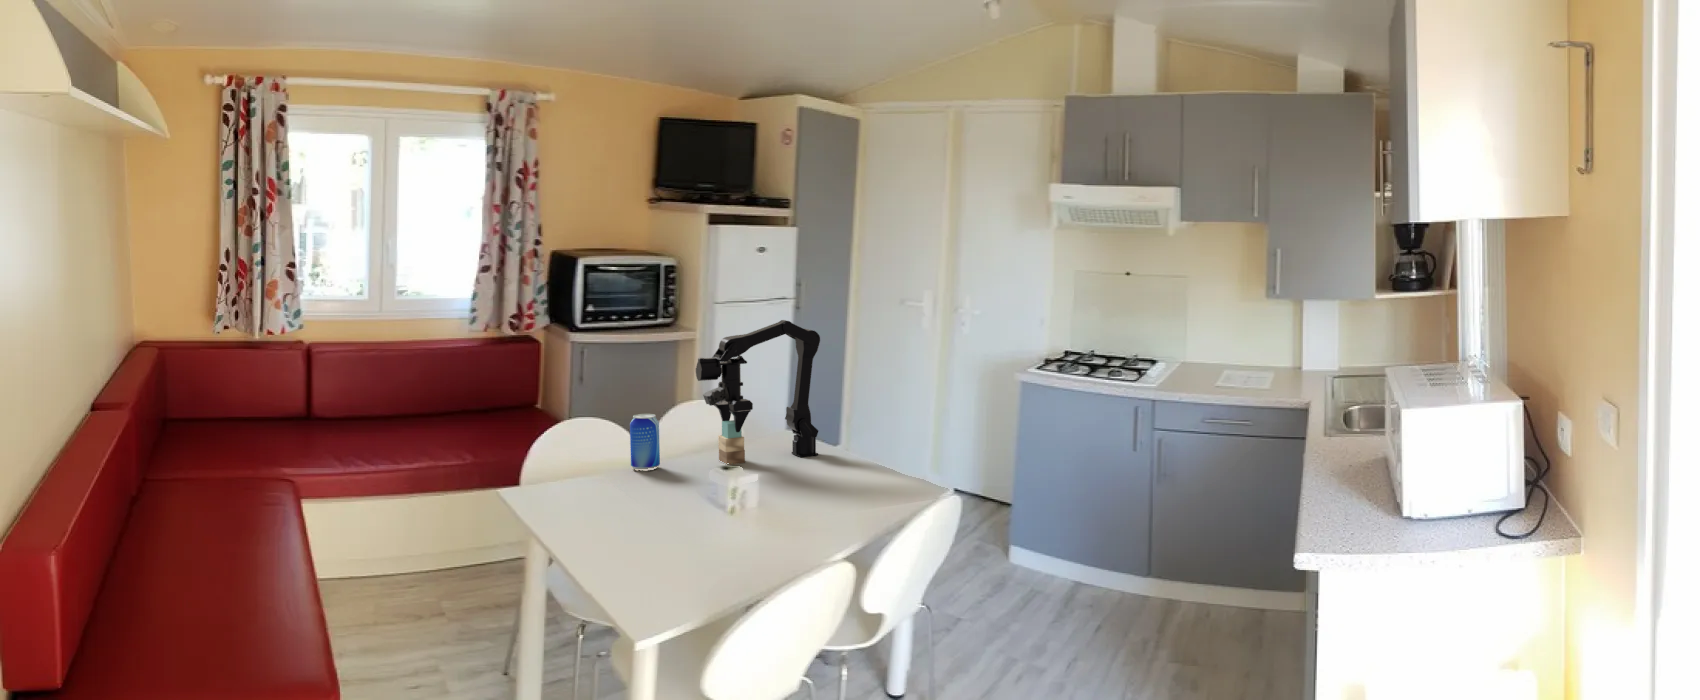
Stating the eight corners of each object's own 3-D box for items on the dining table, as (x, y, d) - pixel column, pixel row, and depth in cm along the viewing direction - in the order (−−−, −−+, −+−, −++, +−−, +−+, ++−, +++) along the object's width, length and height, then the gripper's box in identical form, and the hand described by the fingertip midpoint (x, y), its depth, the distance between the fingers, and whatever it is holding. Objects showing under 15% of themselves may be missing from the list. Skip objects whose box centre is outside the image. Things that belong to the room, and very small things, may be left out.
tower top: (736, 446, 317) (736, 433, 316) (744, 450, 311) (744, 437, 311) (718, 448, 314) (718, 435, 313) (725, 452, 309) (725, 439, 308)
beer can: (663, 466, 307) (662, 413, 305) (655, 472, 299) (654, 418, 297) (636, 465, 308) (634, 412, 306) (627, 471, 300) (625, 417, 298)
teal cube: (735, 434, 315) (735, 420, 315) (741, 437, 311) (741, 422, 311) (721, 435, 313) (721, 421, 312) (727, 438, 309) (727, 423, 309)
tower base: (737, 459, 317) (736, 446, 317) (744, 463, 312) (744, 450, 312) (719, 461, 314) (718, 448, 314) (726, 465, 309) (726, 452, 309)
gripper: (694, 376, 314) (695, 427, 316) (718, 384, 298) (718, 437, 300) (728, 374, 320) (728, 423, 321) (753, 382, 303) (753, 433, 305)
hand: (731, 429), depth 312 cm, fingers open, 9 cm apart
